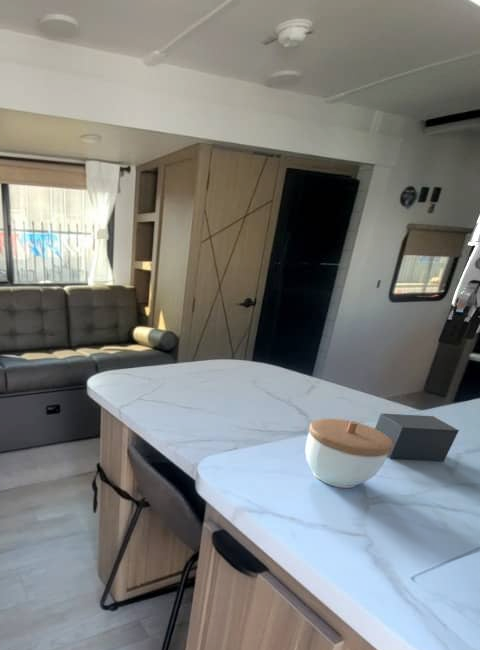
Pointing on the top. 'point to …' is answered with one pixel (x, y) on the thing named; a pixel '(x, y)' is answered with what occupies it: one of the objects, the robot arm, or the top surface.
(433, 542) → the top surface
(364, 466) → the lidded bowl
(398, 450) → the dark grey brick
